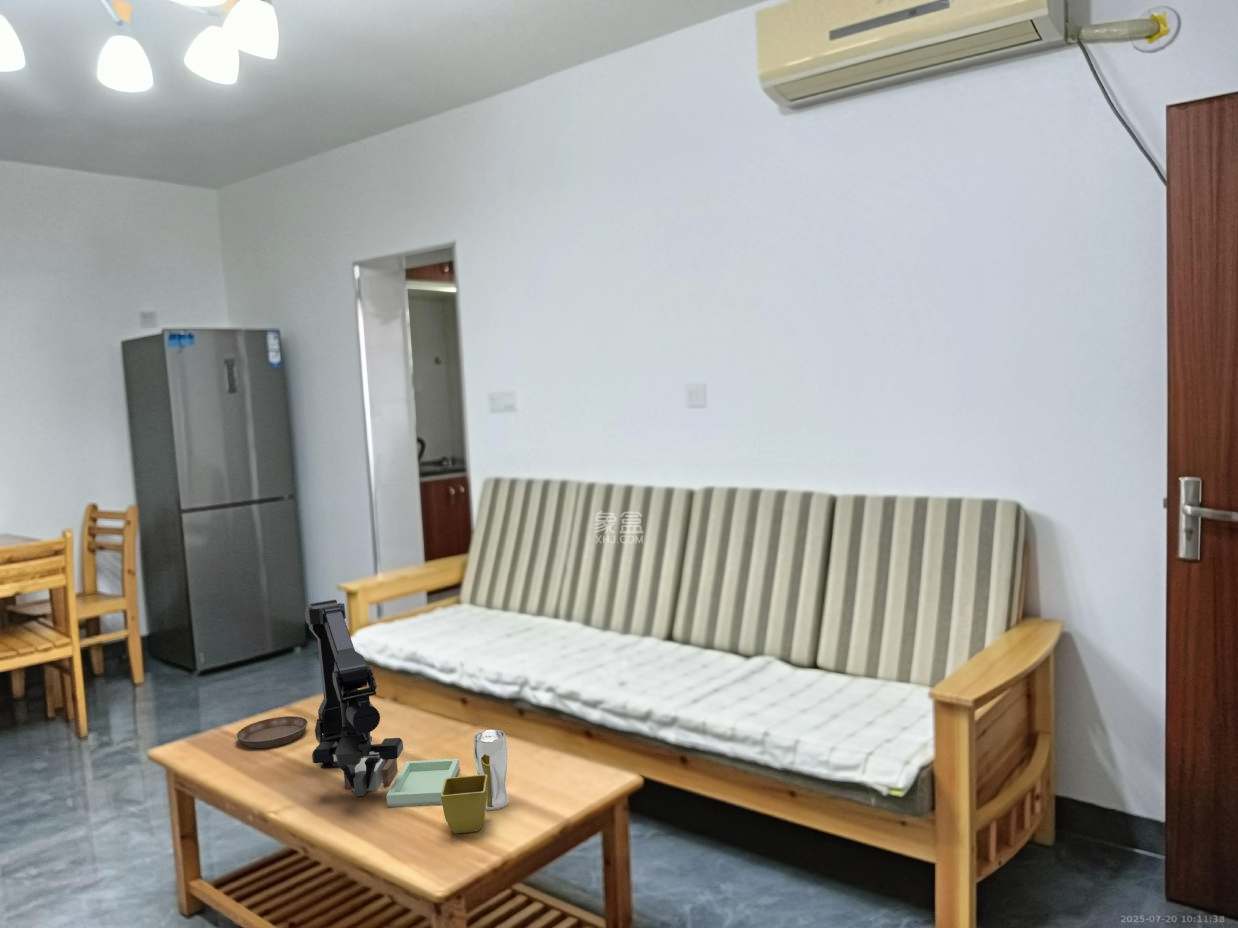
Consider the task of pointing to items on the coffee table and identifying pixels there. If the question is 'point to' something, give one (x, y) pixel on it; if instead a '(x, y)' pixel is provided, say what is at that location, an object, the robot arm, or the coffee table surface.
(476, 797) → the flower pot
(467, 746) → the coffee table surface
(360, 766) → the grey stepped block
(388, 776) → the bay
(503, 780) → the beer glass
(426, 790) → the tray
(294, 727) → the plant saucer
